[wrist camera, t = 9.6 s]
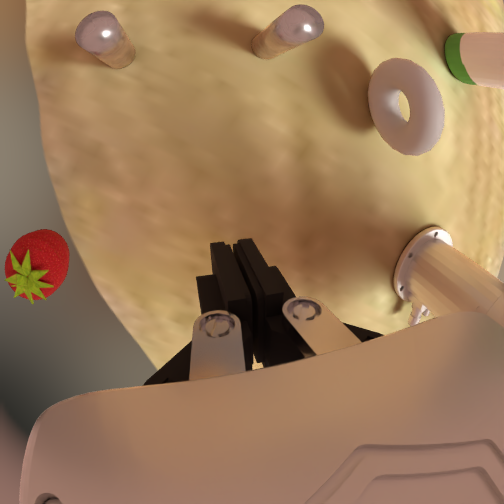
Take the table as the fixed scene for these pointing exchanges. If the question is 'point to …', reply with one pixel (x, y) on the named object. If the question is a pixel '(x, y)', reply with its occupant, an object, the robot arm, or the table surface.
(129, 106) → the table surface
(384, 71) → the donut
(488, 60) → the wine bottle
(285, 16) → the post
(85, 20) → the post
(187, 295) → the table surface
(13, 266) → the strawberry
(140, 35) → the table surface
